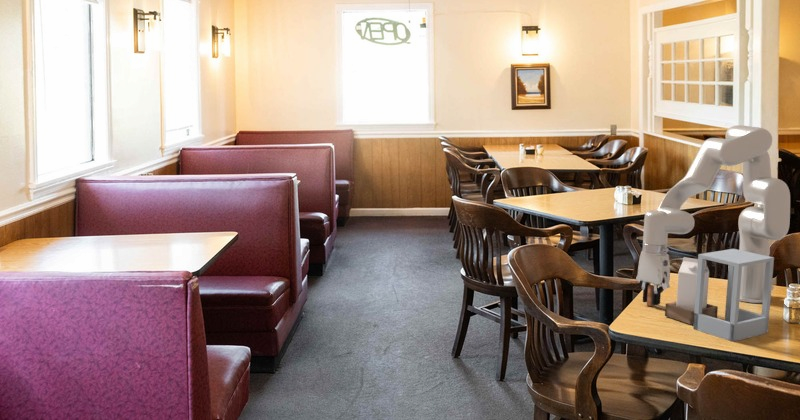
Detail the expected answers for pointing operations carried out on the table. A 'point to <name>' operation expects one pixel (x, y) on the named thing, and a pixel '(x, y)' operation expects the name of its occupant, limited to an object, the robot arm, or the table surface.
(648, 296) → the brown tray with handle
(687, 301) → the milk carton
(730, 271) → the grey open frame
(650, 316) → the table surface
